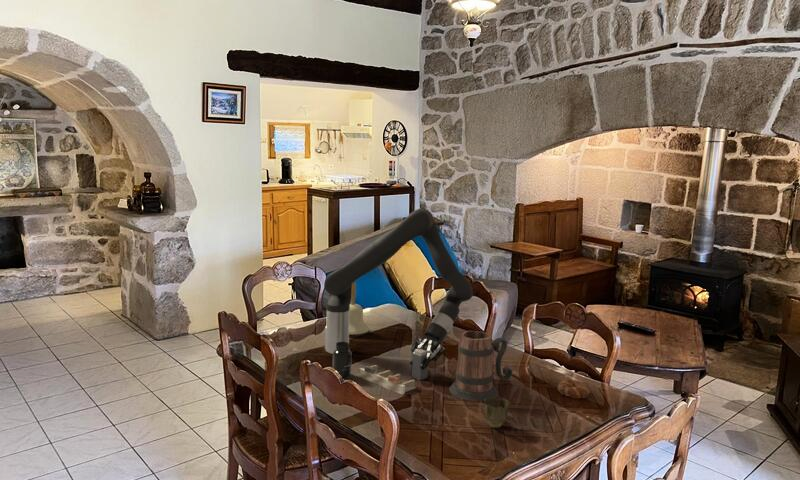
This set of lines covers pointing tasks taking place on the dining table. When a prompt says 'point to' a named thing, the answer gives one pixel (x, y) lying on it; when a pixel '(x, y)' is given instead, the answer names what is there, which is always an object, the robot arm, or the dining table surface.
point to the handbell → (356, 315)
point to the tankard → (478, 366)
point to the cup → (496, 411)
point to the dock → (386, 379)
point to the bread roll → (573, 389)
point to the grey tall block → (416, 363)
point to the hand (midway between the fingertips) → (416, 366)
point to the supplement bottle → (342, 359)
